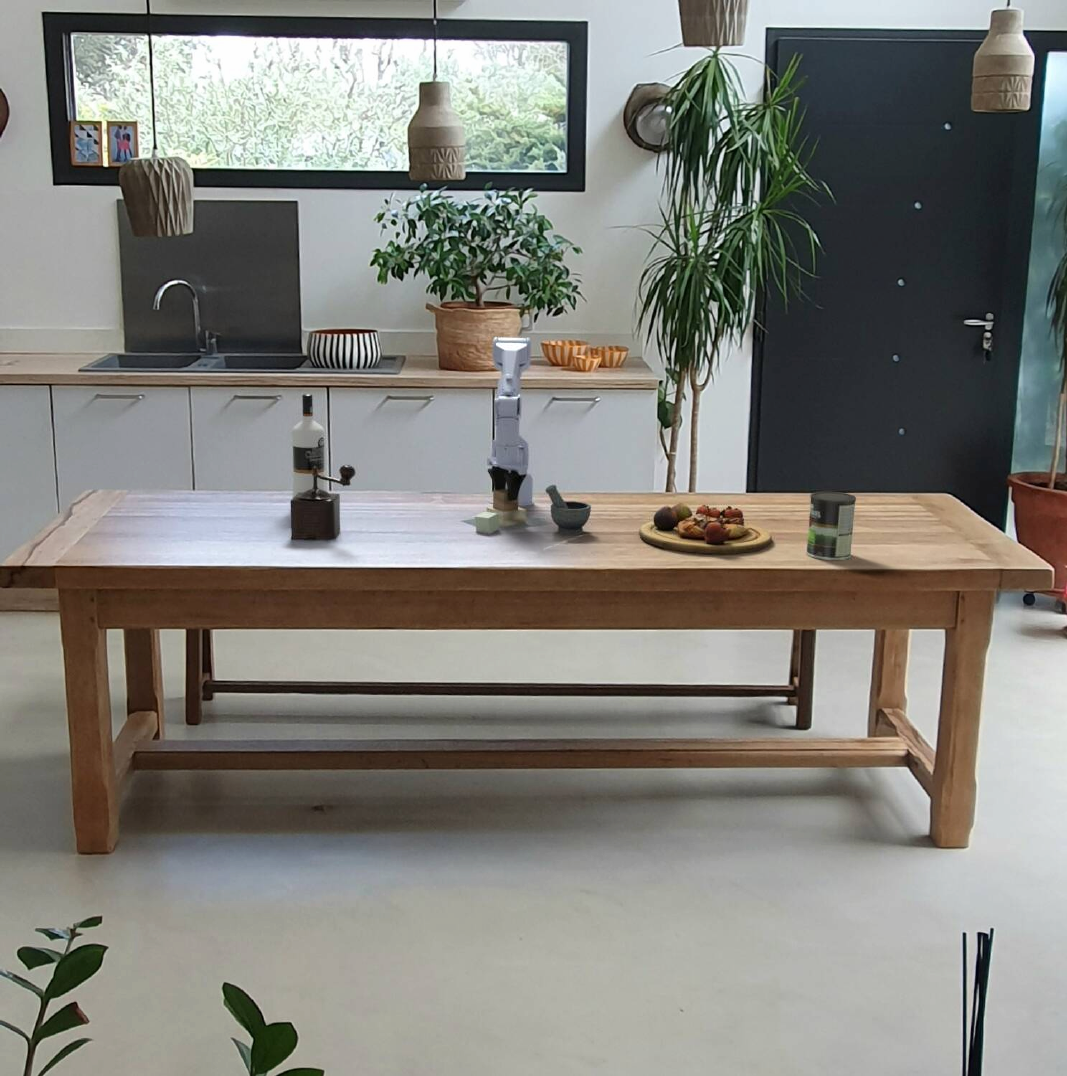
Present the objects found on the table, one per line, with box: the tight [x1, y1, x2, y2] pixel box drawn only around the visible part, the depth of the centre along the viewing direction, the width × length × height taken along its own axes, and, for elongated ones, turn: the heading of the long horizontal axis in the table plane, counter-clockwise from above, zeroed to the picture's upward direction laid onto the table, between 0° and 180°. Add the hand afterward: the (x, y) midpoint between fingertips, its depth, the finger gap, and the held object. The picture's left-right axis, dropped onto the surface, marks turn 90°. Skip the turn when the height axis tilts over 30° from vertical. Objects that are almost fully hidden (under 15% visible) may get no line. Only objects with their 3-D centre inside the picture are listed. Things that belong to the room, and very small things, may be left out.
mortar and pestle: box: [545, 484, 592, 536], centre depth 327 cm, size 11×9×12 cm
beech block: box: [486, 506, 527, 527], centre depth 337 cm, size 7×7×4 cm
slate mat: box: [461, 514, 552, 533], centre depth 337 cm, size 18×14×1 cm
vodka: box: [291, 393, 327, 500], centre depth 343 cm, size 9×9×30 cm
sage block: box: [474, 511, 499, 534], centre depth 327 cm, size 4×4×4 cm
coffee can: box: [805, 491, 857, 562], centre depth 311 cm, size 10×10×14 cm
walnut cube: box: [492, 489, 519, 511], centre depth 335 cm, size 4×4×4 cm
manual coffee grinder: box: [290, 464, 357, 541], centre depth 319 cm, size 16×11×18 cm
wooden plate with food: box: [638, 501, 773, 555], centre depth 325 cm, size 32×32×8 cm
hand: (506, 498), depth 336 cm, fingers open, 5 cm apart
